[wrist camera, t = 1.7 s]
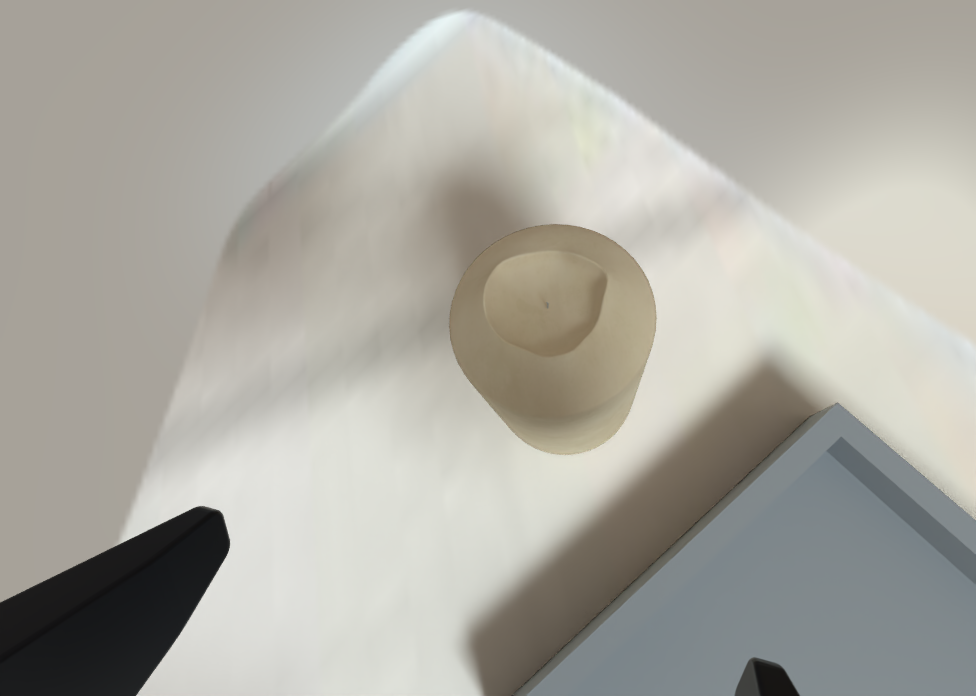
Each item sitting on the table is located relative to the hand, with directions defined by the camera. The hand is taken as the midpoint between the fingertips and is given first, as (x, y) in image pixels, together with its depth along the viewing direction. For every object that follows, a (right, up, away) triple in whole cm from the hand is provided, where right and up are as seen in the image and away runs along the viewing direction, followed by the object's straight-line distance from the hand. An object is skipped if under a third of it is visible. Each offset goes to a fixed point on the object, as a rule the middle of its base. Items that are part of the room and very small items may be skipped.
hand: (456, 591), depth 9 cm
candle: (+4, +2, +14) cm, 15 cm away
